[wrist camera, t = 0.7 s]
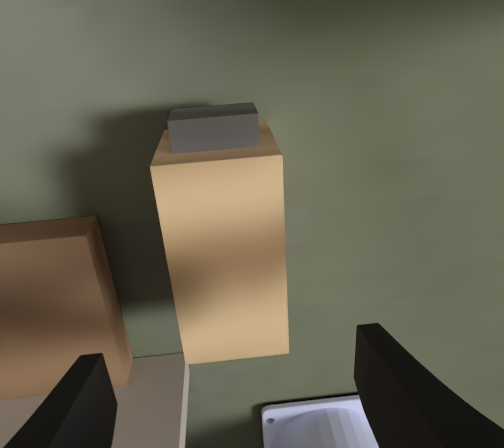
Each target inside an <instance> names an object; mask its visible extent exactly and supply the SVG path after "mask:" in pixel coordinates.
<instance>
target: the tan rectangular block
mask: <svg viewBox="0 0 504 448" xmlns="http://www.w3.org/2000/svg"><path fill="white" fill-rule="evenodd" d="M167 124H168V130H164V132H163V134H162V137H161V140H160V142H159V145H158V147H157V150H156V152H155V155H154V157H153V160H152V162H151V165H150V170H151V175H152V181H153V186H154V192H155V198H156V203H157V209H158V214H159V220H160V225H161V231H162V236H163V242H164V247H165V253H166V258H167V264H168V269H169V275H170V280H171V286H172V291H173V297H174V302H175V308H176V313H177V319H178V324H179V330H180V335H181V341H182V346H183V352H184V358H185V363H186V365H187V364H196V363H205V362H214V361H223V360H232V359H242V358H251V357H260V356H269V355H278V354H287V353H289V337H288V307H287V278H286V249H285V219H284V190H283V160H282V153H281V151H280V149H279V147H278V145H277V143H276V141H275V138H274V136H273V134H272V132H271V130H270V128H269V126H268V124H267V122H258V112H257V110H256V108H255V105H254V103H253V102H251V103H239V104H227V105H215V106H203V107H191V108H179V109H172V110H171V112H170V115H169V117H168V120H167Z"/></svg>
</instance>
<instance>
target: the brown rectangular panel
mask: <svg viewBox="0 0 504 448" xmlns="http://www.w3.org/2000/svg"><path fill="white" fill-rule="evenodd" d="M95 353H103V356H104V359H105V363H106V366H107V369H108V373H109V376H110V380H111V383H112V386H113V387H122V386H127V383H128V378H129V374H130V370H131V365H132V361H133V356H132V352H131V348H130V344H129V340H128V337H127V333H126V329H125V325H124V321H123V317H122V313H121V309H120V305H119V301H118V297H117V293H116V289H115V285H114V281H113V277H112V274H111V270H110V266H109V262H108V258H107V254H106V250H105V246H104V242H103V238H102V234H101V230H100V226H99V222H98V218H97V216H88V217H78V218H67V219H56V220H46V221H35V222H24V223H13V224H3V225H0V400H5V399H14V398H23V397H32V396H41V395H49V393H50V392H51V391H52V390H53V388H54V387H55V386H56V385H57V383H58V382H59V381H60V380H61V378H62V377H63V376H64V375H65V373H66V372H67V371H68V370H69V368H70V367H71V366H72V365H73V363H74V362H75V361H76V360H77V358H78V357H79V356H80V355H85V354H95Z"/></svg>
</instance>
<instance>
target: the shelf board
mask: <svg viewBox="0 0 504 448" xmlns="http://www.w3.org/2000/svg"><path fill="white" fill-rule="evenodd" d="M188 388H189V366H188V364H187V365H186V363H185V358H184V353H177V354H168V355H159V356H150V357H140V358H133V361H132V365H131V370H130V374H129V378H128V383H127V386H122V387H113V390H114V393H115V397H116V400H117V403H118V406H117V414H116V422H115V429H114V436H113V442H112V446H111V448H185V437H186V421H187V404H188ZM47 396H48V395H41V396H32V397H23V398H14V399H5V400H0V448H3V447H4V446H5V445H6V444H7V443H8V441H9V440H10V439H11V438H12V437H13V436H14V435H15V434H16V433H17V431H18V430H19V429H20V428H21V427H22V426H23V425H24V424H25V422H26V421H27V420H28V419H29V418H30V416H31V415H32V414H33V413H34V412H35V410H36V409H37V408H38V407H39V406H40V404H41V403H42V402H43V401H44V400H45V398H46V397H47Z"/></svg>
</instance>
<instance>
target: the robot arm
mask: <svg viewBox="0 0 504 448" xmlns="http://www.w3.org/2000/svg"><path fill="white" fill-rule="evenodd" d="M354 380H355V383H356V387H357V390H358V394H359V395H353V396H344V397H335V398H327V399H318V400H309V401H301V402H292V403H283V404H275V405H268V406H265V407H263V409H262V411H261V415H262V427H263V440H264V448H504V429H502V428H501V427H500V426H498V425H497V424H495V423H494V422H493V421H491V420H490V419H488V418H487V417H485V416H484V415H483V414H481V413H480V412H478V411H477V410H476V409H474V408H473V407H472V406H470V405H469V404H468V403H467V402H465V401H464V400H463V399H462V398H460V397H459V396H458V395H457V394H455V393H454V392H453V391H452V390H450V389H449V388H448V387H447V386H446V385H444V384H443V383H442V382H441V381H440V380H439V379H437V378H436V377H435V376H434V375H433V374H432V373H431V372H430V371H428V370H427V369H426V368H425V367H424V366H423V365H422V364H421V363H419V362H418V361H417V360H416V359H415V358H414V357H413V356H412V355H411V354H410V353H409V352H408V351H407V350H406V349H405V348H404V347H402V346H401V345H400V344H399V343H398V342H397V341H396V340H395V339H394V338H393V337H392V336H391V335H390V334H389V333H388V332H387V331H386V330H385V329H384V328H383V327H382V326H381V325H380V324H379V323H373V324H363V325H357V332H356V349H355V366H354ZM117 406H118V403H117V400H116V397H115V393H114V390H113V386H112V383H111V380H110V376H109V373H108V369H107V366H106V363H105V359H104V356H103V353H95V354H85V355H80V356H79V357H78V358H77V360H76V361H75V362H74V363H73V365H72V366H71V367H70V368H69V370H68V371H67V372H66V373H65V375H64V376H63V377H62V378H61V380H60V381H59V382H58V383H57V385H56V386H55V387H54V388H53V390H52V391H51V392H50V393H49V395H48V396H47V397H46V398H45V400H44V401H43V402H42V403H41V404H40V406H39V407H38V408H37V409H36V410H35V412H34V413H33V414H32V415H31V416H30V418H29V419H28V420H27V421H26V422H25V424H24V425H23V426H22V427H21V428H20V429H19V430H18V431H17V433H16V434H15V435H14V436H13V437H12V438H11V439H10V440H9V441H8V443H7V444H6V445H5V446H4V447H3V448H111V446H112V442H113V436H114V429H115V422H116V414H117ZM269 418H270V419H269Z"/></svg>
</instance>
